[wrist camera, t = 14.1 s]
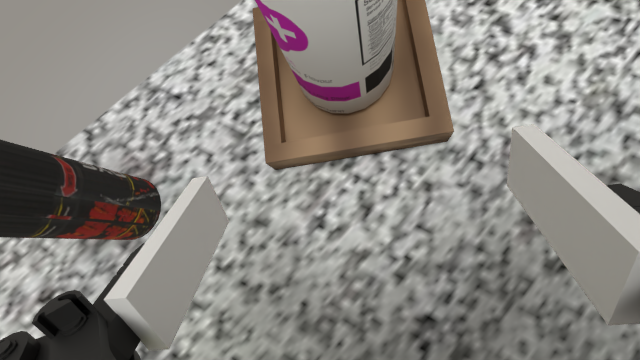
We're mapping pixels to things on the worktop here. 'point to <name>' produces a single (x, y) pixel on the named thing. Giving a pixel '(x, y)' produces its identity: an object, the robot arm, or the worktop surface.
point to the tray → (363, 125)
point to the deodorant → (71, 198)
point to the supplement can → (336, 48)
